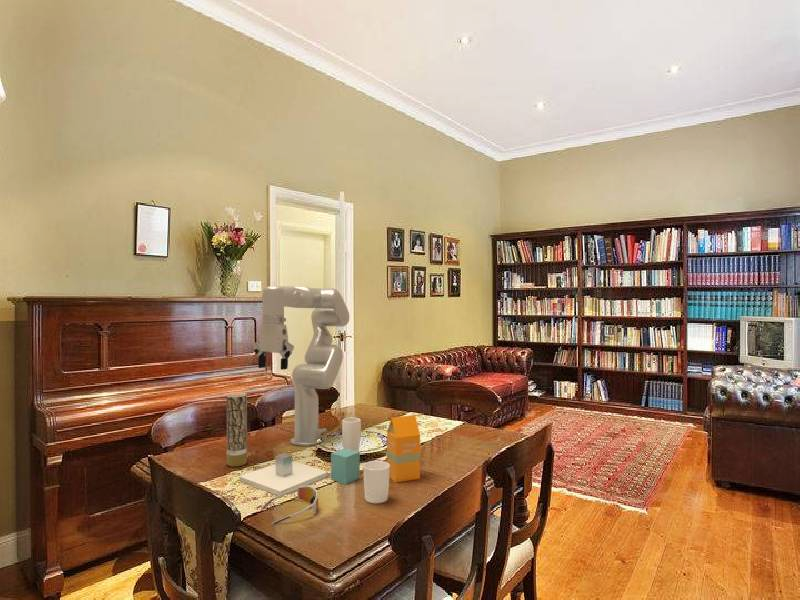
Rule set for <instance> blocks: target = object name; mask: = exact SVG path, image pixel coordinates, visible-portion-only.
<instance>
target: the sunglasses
mask: <svg viewBox="0 0 800 600" xmlns="http://www.w3.org/2000/svg"><path fill="white" fill-rule="evenodd" d="M295 493H297V494H296V496H297V500H298V501H305V502H309V503H311V504H310V505H308V506H307V507H305V508H304V509H302V510H300V511H298V512H294V513H293V514H290V515H287V516H285V517H282V518H280V519H278V520H276V521H273V522H272V523H271V525H277V524H279V523H281V522H283V521H284V522H285V521H286V520H288V519H292V518H294V517H295V518H296V517H297V516H299V515H301V514H302V513H304V512H308V511H310V510H312V509H313V515H316V514H317V513H318V509H319V494H318V490H317V489H316V488H315V487H314V486H311V485H306V486H300V487H298V488H296V489H293V490H290V491H288V492H285V493H283V494H281V495H275V496H274V497H272V498H270V499H269V500H268V501H267V502H266V503H265V504H264V505H263V506H262V507H261V508H260V511H262V510H264V509H265V508H266V507H267V506H269V504H270V503H272V502H273V501H275V500H278V499H279V498H281V497H283V496H286V495H289V494H290V495H291V494H295Z"/></svg>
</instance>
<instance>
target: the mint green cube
mask: <svg viewBox="0 0 800 600" xmlns="http://www.w3.org/2000/svg"><path fill="white" fill-rule="evenodd" d="M360 454H361V453H360V451H359V452H358V451H354V450H350V449H346V448H344V449H343V448H342V449H339V450H336V451H333V452H331V453H330V480H331V481H333V482H334V481H335V482H337V483H341V484H343V485H348V484H350V483H352V482H355V481H356V480H359V479H360V477H361V475H360V473H361V472H360V470H361V469H360V464H361V463H360V462H361V461H360V460H361V459H360V456H361V455H360Z"/></svg>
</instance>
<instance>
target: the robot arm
mask: <svg viewBox="0 0 800 600" xmlns="http://www.w3.org/2000/svg"><path fill="white" fill-rule="evenodd" d="M261 294H262V295H261V298H262V299H261V300H262V316H261V317H262V322H261V323H262V324H261V325H260V329H259V335H258V337H259V339H258V341H256V342H254V343H253V344H252V348H253V349H254V353H255V354H256V357H258V359H257V360H258V362H257V363H258V364H257V365H258V368H259V369H262V368H266V364H267V363H266V361H267V360H266V358H267V357H266V356H265V355H266V353H274V354H275V353H276V354H279V355H280V357H281V358H280V370H281V371H283V370H288V366H289V358H290V356H291V355H292V354H293V351H294V349H295V346H294V345H293V344H292V343H290V342H289V334H288V327H287V324H285V322H287V318H286V317H285V308H286V307H287V308H292V309H293V308H295V309H313V310H312V311H311V315H310V316H311V317H310V319H311V323H312V325H311V326H312V330H313V336H312V338H311V341H310V342H309V345H308V347H307V349H306V351H305V355H304V361H305V363H302V364H297V365H296V366H295V367H294V368H293V370H292V374H291V379H292V385H293V391H294V392H293V393H294V436H293V437H292V438H291V439H290V444H291V445H295V446H298V447H299V446H300V447H303V446H304V447H308V446H309V447H310V446H315V445H318V444H317V440H318V439H320V438H321V437H322V434H324V433H327V428H326V427H322V428H319V395H318V393H317V391H316V389H317V390H318V389H320V390H327V389H330V388H332V387H333V385H334V383H335V381H336V379H337V377H338V374H339V372H340V369H341V366H342V364H343V360H344V352H343V349H342V347H340V346H339V345H336V344H332V343H333V336H332V334H331V332H330V331H329V330H328V328H327V327H335V328H336V327H341V328H342V327H345V326H347V325H348V324H349V321H350V313H349V309H348V307H347V305H346V303H345V300H344V298H343V296H342V294H341V292H340V291H338V289H336V288H320V287H319V288H318V287H308V286H307V287H306V286H292V285H291V286H290V285H289V286H276V285H275V286H273V285H272V286H270V285H269V286H264V287H263V289H262V293H261Z"/></svg>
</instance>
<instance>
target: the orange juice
mask: <svg viewBox="0 0 800 600" xmlns="http://www.w3.org/2000/svg"><path fill="white" fill-rule="evenodd" d="M386 462H387V463H389V464H390V473H389V479H391V480H392V481H393V482H394V483H401V482H407V481H408V482H409V481H412V480H419V479H421V433H420V430H419V425H418V422H417V417H416V415H415V414H413V415H406V416H394V417H391V419H390V422H389V426H388V428H387V431H386Z"/></svg>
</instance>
